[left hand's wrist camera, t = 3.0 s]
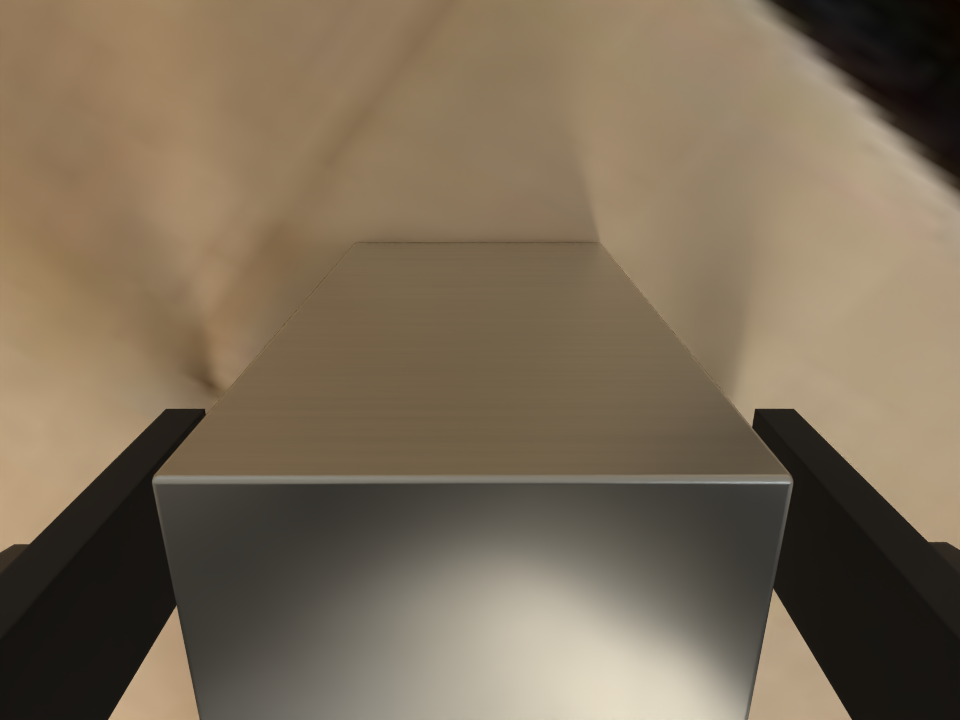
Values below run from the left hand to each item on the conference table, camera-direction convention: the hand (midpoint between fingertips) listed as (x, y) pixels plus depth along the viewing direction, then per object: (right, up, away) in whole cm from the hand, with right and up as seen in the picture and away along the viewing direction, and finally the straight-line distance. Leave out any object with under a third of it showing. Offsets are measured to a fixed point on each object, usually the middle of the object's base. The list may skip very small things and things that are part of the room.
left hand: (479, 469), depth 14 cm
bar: (0, -7, +5) cm, 8 cm away
